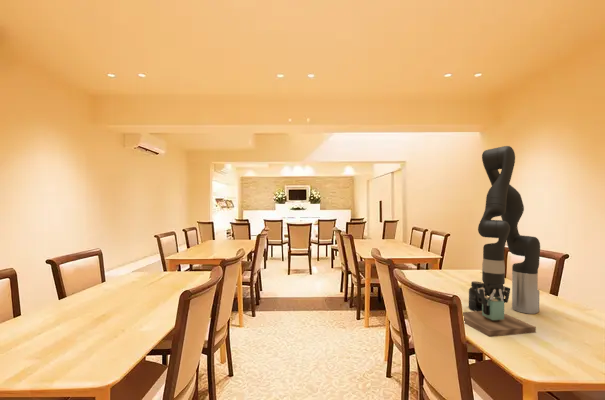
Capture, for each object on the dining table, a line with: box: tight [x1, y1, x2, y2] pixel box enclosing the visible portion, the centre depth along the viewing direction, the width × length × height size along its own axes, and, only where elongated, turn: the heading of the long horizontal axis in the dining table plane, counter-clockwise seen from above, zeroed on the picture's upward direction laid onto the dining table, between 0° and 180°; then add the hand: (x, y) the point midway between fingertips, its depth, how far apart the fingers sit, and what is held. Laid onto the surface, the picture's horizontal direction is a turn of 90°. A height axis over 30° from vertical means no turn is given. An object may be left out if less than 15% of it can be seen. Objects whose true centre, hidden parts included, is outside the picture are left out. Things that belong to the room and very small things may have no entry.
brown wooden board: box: [463, 310, 537, 337], centre depth 120 cm, size 20×18×9 cm
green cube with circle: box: [482, 297, 505, 320], centre depth 120 cm, size 5×5×7 cm
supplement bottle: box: [468, 280, 484, 312], centre depth 137 cm, size 7×7×12 cm
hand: (492, 313), depth 120 cm, fingers closed on green cube with circle, 5 cm apart
